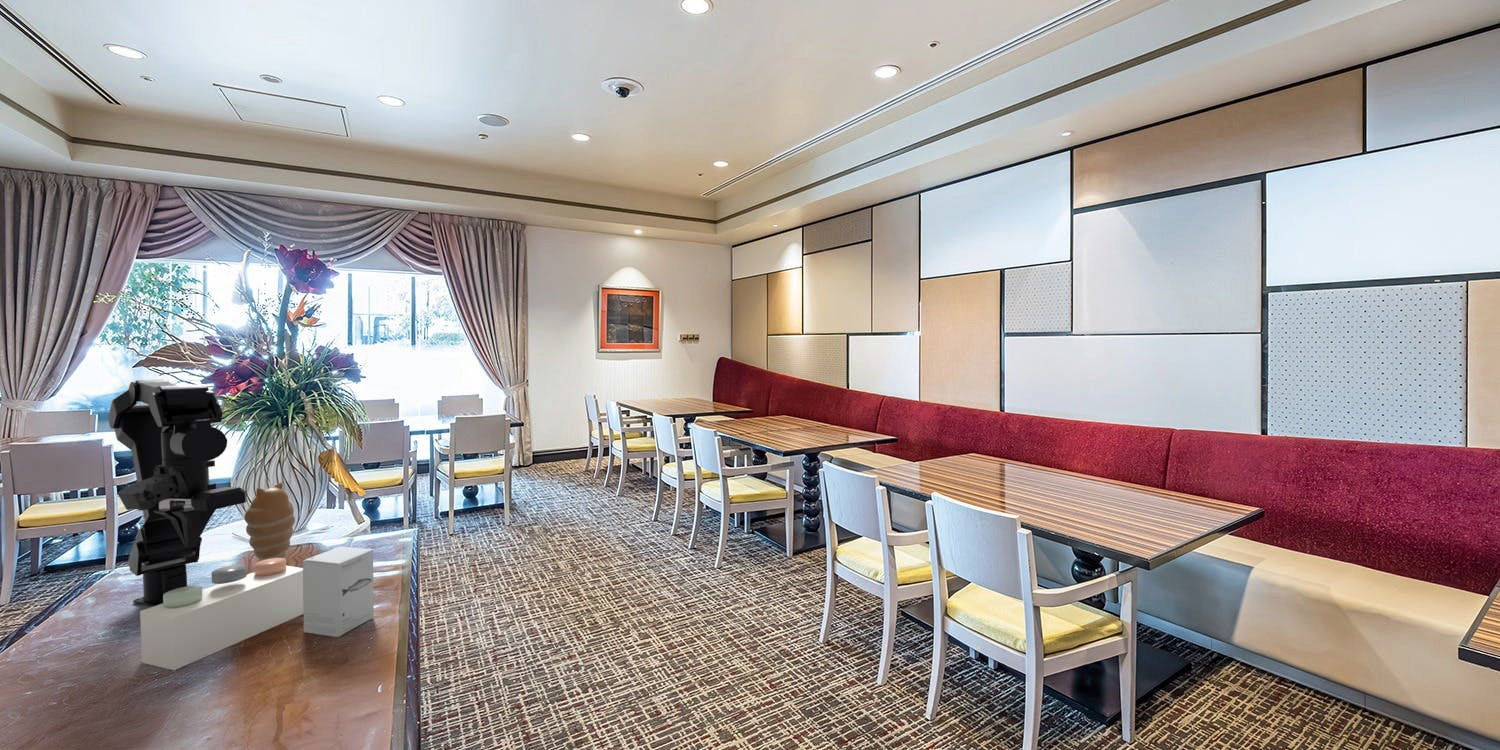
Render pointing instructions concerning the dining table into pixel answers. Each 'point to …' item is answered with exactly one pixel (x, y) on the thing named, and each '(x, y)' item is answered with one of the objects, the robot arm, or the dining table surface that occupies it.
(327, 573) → the supplement box
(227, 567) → the grey button
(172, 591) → the sage button
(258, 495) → the cat ice cream
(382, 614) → the dining table surface
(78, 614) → the dining table surface
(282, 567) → the terracotta button
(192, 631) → the button bar
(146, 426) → the robot arm
